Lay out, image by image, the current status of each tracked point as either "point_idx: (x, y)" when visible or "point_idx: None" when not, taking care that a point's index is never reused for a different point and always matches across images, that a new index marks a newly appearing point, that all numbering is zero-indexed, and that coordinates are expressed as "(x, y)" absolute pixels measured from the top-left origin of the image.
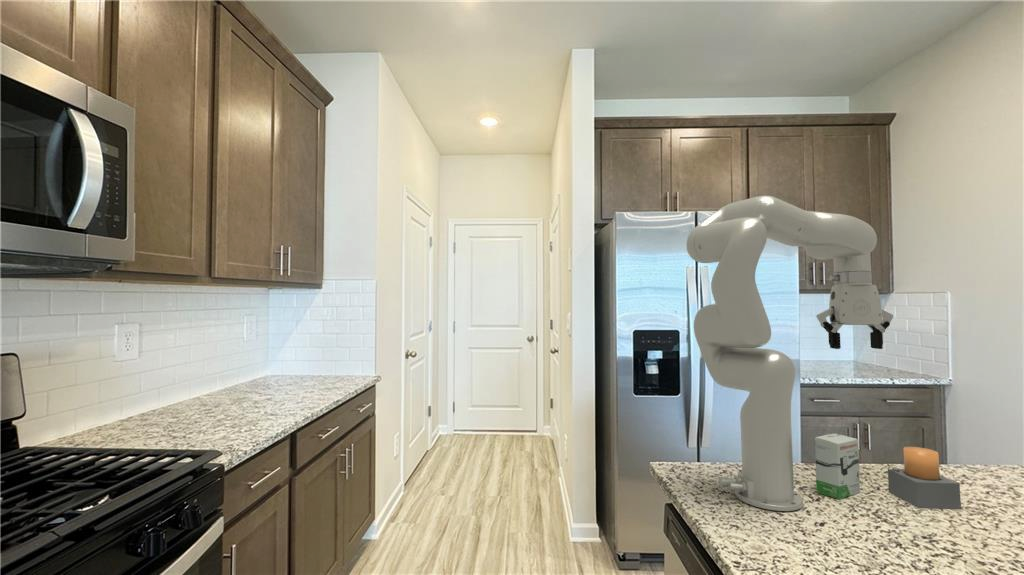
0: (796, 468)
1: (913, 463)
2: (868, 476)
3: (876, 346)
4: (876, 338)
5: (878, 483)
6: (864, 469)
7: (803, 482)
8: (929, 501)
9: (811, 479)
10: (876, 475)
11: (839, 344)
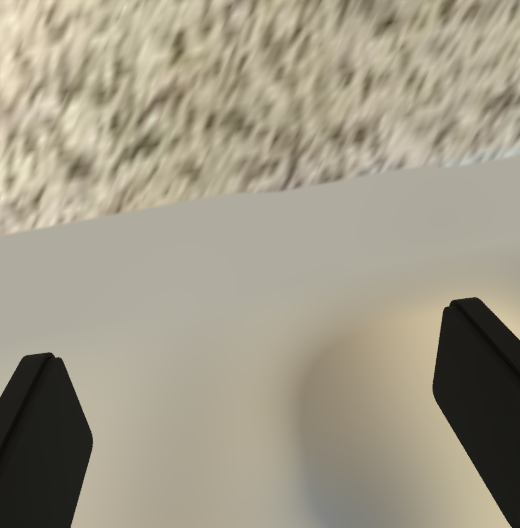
0: (385, 132)
1: None
2: (220, 95)
3: (66, 394)
4: (33, 468)
5: (222, 32)
6: (201, 158)
7: (434, 2)
8: None
9: (396, 36)
10: (193, 108)
11: (482, 319)
